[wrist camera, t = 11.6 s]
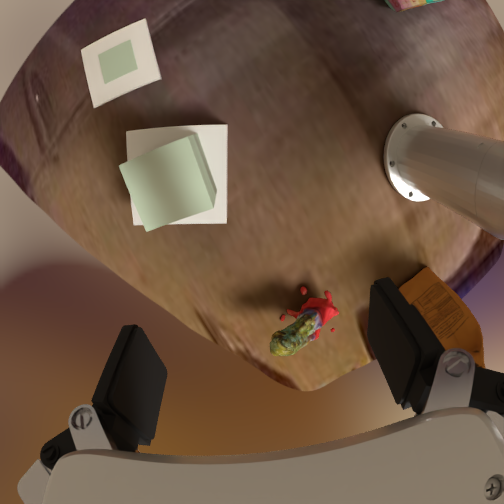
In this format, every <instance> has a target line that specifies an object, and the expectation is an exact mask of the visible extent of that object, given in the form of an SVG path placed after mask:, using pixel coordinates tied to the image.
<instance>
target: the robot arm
mask: <svg viewBox="0 0 504 504" xmlns="http://www.w3.org/2000/svg"><path fill="white" fill-rule="evenodd" d="M384 167H385V171H386V175H387V177H388V179H389V182H390V183H391V185H392V186H393V188H394V189H395V190H396V191H397V192H398V193H399V194H400V195H402V196H403V197H405V198H407V199H409V200H412V201H426V200H429V199H432V200H434V201H436V202H438V203H440V204H442V205H443V206H445V207H447V208H449V209H450V210H452V211H454V212H456V213H457V214H459V215H461V216H463V217H464V218H466V219H468V220H469V221H471V222H472V223H474V224H476V225H477V226H479V227H480V228H482V229H484V230H485V231H487V232H489V233H490V234H492V235H493V236H495V237H497V238H499V239H502V240H504V141H500V140H496V139H493V138H489V137H485V136H480V135H476V134H472V133H467V132H462V131H457V130H452V129H446V128H443V127H442V125H441V124H440V123H439V122H438V121H437V120H436V119H434V118H432V117H431V116H428V115H425V114H418V113H417V114H409V115H406V116H404V117H402V118H401V119H399V120H398V121H397V122H396V123H395V124H394V125H393V127H392V128H391V130H390V131H389V134H388V136H387V138H386V142H385V146H384ZM367 335H368V340H369V343H370V345H371V347H372V349H373V351H374V354H375V356H376V358H377V360H378V362H379V365H380V367H381V369H382V371H383V374H384V375H385V378H386V380H387V383H388V385H389V387H390V390H391V392H392V394H393V397H394V399H395V402H396V403H397V404H401V406H402V408H403V410H404V409H407V408H409V407H412V409H413V411H414V412H415V415H414V417H412V418H408V419H406V420H402V421H399V422H397V423H393V424H391V425H388V426H384V427H381V428H378V429H375V430H372V431H368V432H365V433H361V434H358V435H354V436H350V437H347V438H343V439H338V440H334V441H330V442H326V443H321V444H316V445H311V446H306V447H300V448H294V449H288V450H281V451H274V452H265V453H256V454H243V455H227V456H175V455H159V454H146V453H140V452H139V450H138V449H137V448H138V444H139V445H149V446H150V443H151V440H152V439H154V436H155V431H156V425H157V421H158V416H159V411H160V406H161V401H162V397H163V392H164V387H165V383H166V379H167V369H166V367H165V366H164V364H163V362H162V361H161V359H160V358H159V356H158V354H157V353H156V351H155V349H154V348H153V346H152V344H151V343H150V341H149V339H148V338H147V336H146V334H145V333H144V331H143V329H142V328H141V327H138V326H137V325H125V326H123V327H122V329H121V331H120V334H119V336H118V338H117V340H116V343H115V345H114V347H113V349H112V352H111V354H110V356H109V358H108V361H107V363H106V365H105V368H104V370H103V373H102V375H101V377H100V380H99V383H98V385H97V388H96V390H95V393H94V395H93V398H92V402H93V405H92V406H90V405H87V404H85V405H80V406H78V407H77V408H75V409H74V410H73V411H72V413H71V414H70V417H69V421H68V422H69V428H68V429H66V430H65V431H63V432H62V433H60V434H59V435H57V436H56V437H54V438H53V439H52V440H50V441H48V442H47V443H45V444H44V446H43V447H42V450H41V453H40V458H41V461H40V460H39V459H38V460H37V461H36V462H35V463H34V464H33V465H32V467H31V468H30V469H29V470H28V471H27V472H26V474H25V475H24V476H23V477H22V478H21V480H20V481H19V483H18V493H19V495H20V497H21V499H22V500H23V502H24V504H504V373H500V372H496V371H492V370H489V369H485V368H481V367H478V366H475V361H474V359H473V357H472V355H471V354H470V353H469V352H467V351H466V350H464V349H461V348H452V349H448V350H445V348H444V347H443V345H442V344H441V342H440V341H439V339H438V338H437V336H436V335H435V333H434V332H433V331H432V329H431V328H430V326H429V325H428V323H427V322H426V320H425V319H424V318H423V316H422V315H421V313H420V312H419V311H418V309H417V308H416V307H415V306H414V305H412V304H409V303H408V301H407V300H406V299H405V297H404V296H403V295H402V293H401V292H400V291H399V289H398V288H397V287H396V285H395V284H394V283H393V281H392V280H391V279H390V278H389V277H386V278H383V279H379V280H375V282H374V285H371V288H370V306H369V320H368V332H367Z"/></svg>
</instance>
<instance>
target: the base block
mask: <svg viewBox="0 0 504 504" xmlns="http://www.w3.org/2000/svg"><path fill="white" fill-rule="evenodd" d="M197 133H198V136H199V139H200V142H201V145H202V148H203V151H204V154H205V157H206V160H207V162H208V165H209V168H210V171H211V174H212V177H213V180H214V182H215V185H216V188H217V193H216V199H215V204H214V208H213V209H210V210H207V211H204V212H201V213H198V214H195V215H192V216H190V217H187V218H184V219H181V220H178V221H175V222H172V223H169V224H208V223H227V138H228V124H226V125H189V126H173V127H160V128H149V129H140V130H132V131H126V142H127V161H130V160H132V159H134V158H136V157H138V156H141V155H143V154H145V153H148V152H150V151H152V150H155V149H157V148H159V147H162V146H164V145H167V144H169V143H172V142H174V141H177V140H180V139H182V138H185V137H188V136H190V135H194V134H197ZM130 197H131V195H130ZM131 206H132V214H133V222H134V225H143V223H142V221H141V218H140V216H139V214H138V211H137V209H136V207H135V205H134V202H133V200H132V197H131Z"/></svg>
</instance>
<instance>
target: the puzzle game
mask: <svg viewBox="0 0 504 504" xmlns="http://www.w3.org/2000/svg"><path fill="white" fill-rule="evenodd" d="M439 1H443V0H385V2H386V3H387V4H388V6H389V7H390V8H391V9H392V10H394V11H396V12H400V11H404V10H407V9H410V8H414V7H418V6H422V5H426V4H430V3H434V2H439Z"/></svg>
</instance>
